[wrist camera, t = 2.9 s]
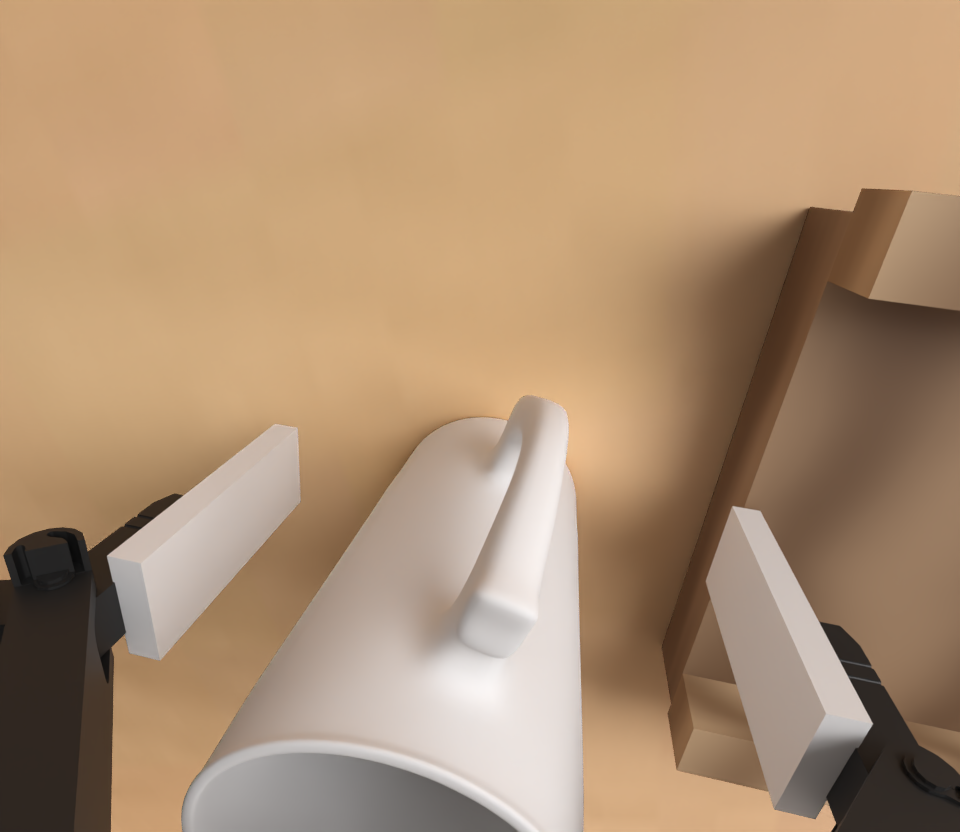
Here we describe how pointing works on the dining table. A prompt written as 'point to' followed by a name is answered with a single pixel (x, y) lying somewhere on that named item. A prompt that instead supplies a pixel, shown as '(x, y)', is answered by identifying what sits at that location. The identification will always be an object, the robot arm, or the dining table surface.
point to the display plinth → (846, 474)
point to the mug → (427, 658)
